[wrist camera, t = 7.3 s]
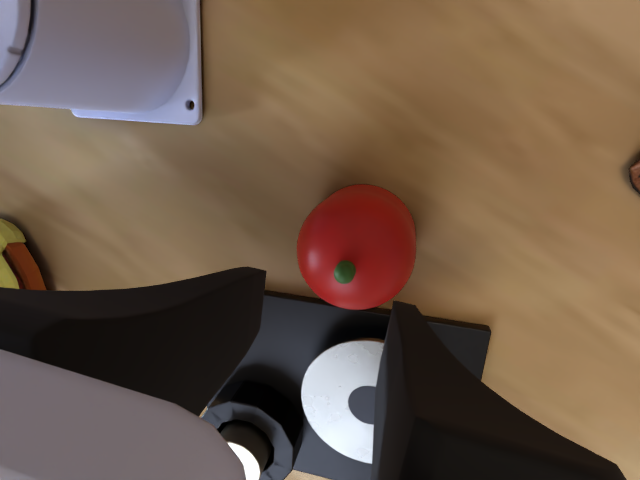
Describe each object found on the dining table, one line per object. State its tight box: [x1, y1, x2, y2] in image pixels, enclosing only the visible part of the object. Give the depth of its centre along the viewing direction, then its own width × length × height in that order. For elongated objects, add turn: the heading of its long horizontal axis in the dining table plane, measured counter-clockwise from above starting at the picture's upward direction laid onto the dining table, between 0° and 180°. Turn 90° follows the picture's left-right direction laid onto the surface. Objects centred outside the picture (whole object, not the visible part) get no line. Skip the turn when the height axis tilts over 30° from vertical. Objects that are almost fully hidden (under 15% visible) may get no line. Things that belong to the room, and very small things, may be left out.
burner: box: [301, 338, 385, 464], centre depth 20 cm, size 8×8×1 cm
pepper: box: [297, 184, 416, 310], centre depth 17 cm, size 5×5×6 cm
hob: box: [201, 290, 491, 480], centre depth 22 cm, size 12×16×3 cm
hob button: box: [220, 420, 271, 480], centre depth 22 cm, size 3×3×2 cm
